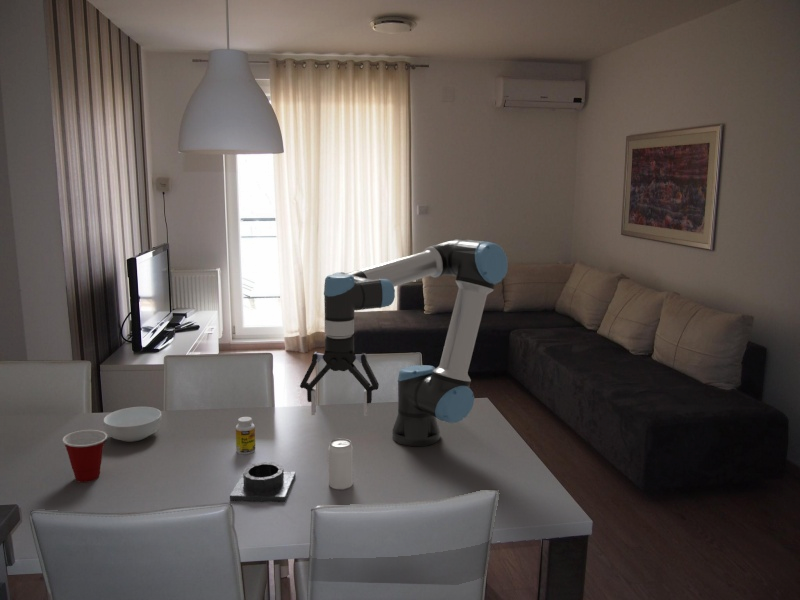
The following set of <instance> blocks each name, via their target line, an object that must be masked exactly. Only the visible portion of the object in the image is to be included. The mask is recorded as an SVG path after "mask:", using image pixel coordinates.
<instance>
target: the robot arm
mask: <svg viewBox="0 0 800 600" xmlns="http://www.w3.org/2000/svg"><path fill="white" fill-rule="evenodd" d="M508 265H509V263H508V256H507V255H506V252H505V250H504V249H503V248H502V246H501V245H499V244H497V243H495V242H490V241H485V240H474V239H464V238H459V239H458V238H456V239H452V240H449V241H444V242H441V243H438V244H433V245H430V246H427V247H425V248H424V249H423V251H422V252H418V253H414V254H410V255H407V256H403V257H401V258H397V259H393V260H391V261H390V260H389V261H387V262H383V263H379V264H376V265H372V266H370V267H364V268H362V269H359V270H353V271H350V272H346V273H345V272H334V273H332V274H329V275H327V276H326V277H325V279H324V284H323V285H324V289H323V296H324V297H323V298H324V334H325V337H324V353H320V352H318V351H314V353H313V354H312V357H311V363H310V365H309V366H308V368H307V370H306V373H305V375H304V377H303V378H302V380H301V383H300V385H299V388H301V389H305V390H306V399H307V402H308V403H311V405H310V406H311V407H310V408H311V412H310V413H311V416H315V414H316V413H317V388H316V387H315V386H317V384H318V383H319V382H320V380H322V378H323V377H324V376H325V375H326V374H327V373H328V372H329V370H332V371H333V372H346V371H348V372H349V373H350V374H352V375H353V377H354V378H355V379H356V380H357V381H358V382H359V384H360V385H361V386H362V387H363V389H364V390H363V417H367V416H368V405H369V404H372V400H373V399H372V398H373V391H376V390H378V389H379V386H380V385H379V382H378V380H377V377H376V376H375V374H374V372H373V370H372V367H371V366H370V364H369V362H368V357H367V353H366V352H362V353H360V354H358V353H357V354H356V353H355V336H354V333H355V311H360V310H361V311H363V310H371V309H382V308H386V307H390V306H392V304H393V303H394V301H395V298H396V295H395V293H396V290H395V287H398V286H401V285H405V284H408V283H411V282H415V281H417V280H421V279H423V278H427V277H431V278H439V277H442V276H453V277H455V283H456V285H457V287H458V290H457V295H456V297H455V302H454V305H453V310H452V313H451V319H450V322H449V325H448V329H447V333H446V337H445V342H444V346H443V351H442V353H441V358H440V362H439V365H438V366H437V367H435V366H433V365H426V364H425V365H424V364H422V365H421V364H418V365H417V364H416V365H410V366H404V367H403V368H401V369H400V370H399V371H398V379H397V399H398V400H397V416H396V419H395V420H394V421H395V422H394V424H393V428H392V440H394V441H395V442H396V443H398V444H400V445H403V446H407V447H426V446H431V445H434V444H436V443H437V442H439V440H440V439H441V431H440V430H441V429H440V427H439V424H438V420H440V421H442V422H445V423H450V424H456V423H460V422H462V421H463V420H464V418H465V419H466V418H467V417H468V415H470V414H471V411H472V410H473V407H474V403H475V395H474V392H473V391H472V389H471V388H470V387H471V386H470V384H471V381H472V379H471V377H470V376H469V373H468V372H469V369H470V364H471V361H472V356H473V352H474V349H475V345H476V340H477V337H478V333H479V328H480V324H481V321H482V317H483V312H484V309H485V305H486V302H487V301H486V300H487V297H488V295H489V294H491V293H492V292H493V291H495V286H496V284H498V283H500V282H502V280H504V279H505V277H506V276H507V272H508ZM321 360H323V361H324V362H325V365H324V366H323V367H322V369H320V371H319V372H318V373H317V374H316V376H315V377H314V378H313V379H312V380H311V381H310V383H309V382H308V381H309V379H310V378H311V374H312V373H313V371H314V369H315V367H316V366H317V363H319V362H320V361H321ZM356 360H357V361H358V363H361V366H362V368H363V370H364V372H365V374H366V376H367V378H368V380H369V381H368V380H367V379H366V378H365V376H364V375H363V374H362V373H361V371H359V370H358V368H357V367H356V365H355V364H354V362H355V361H356ZM437 419H438V420H437Z"/></svg>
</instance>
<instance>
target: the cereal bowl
mask: <svg viewBox="0 0 800 600" xmlns="http://www.w3.org/2000/svg"><path fill="white" fill-rule="evenodd" d="M162 421H163V419H162V411H161V410H160V409H158V408H156V407H152V406H151V407H150V406H133V407H127V408H126V407H125V408H121V409H118V410H115V411H113V412H110V413H108V414H107V415H105V417H103V426H104V432H105V433H106V434H107V436H110V437H111V438H112V439H115V440H117V441H118V440H119V441H123V442H131V443H133V442H139V441H142V440H144V439H146V438H147V437H149V436H151V435H153V434H154V433H155V432H157V430H159V428H160V426H161V424H162Z"/></svg>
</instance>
